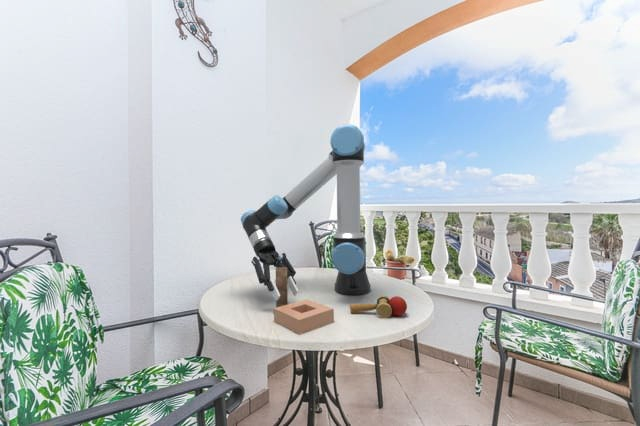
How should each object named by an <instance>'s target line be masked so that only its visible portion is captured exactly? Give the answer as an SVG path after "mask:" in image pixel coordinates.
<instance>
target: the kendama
mask: <svg viewBox="0 0 640 426" xmlns="http://www.w3.org/2000/svg"><path fill="white" fill-rule="evenodd" d="M407 304H408V303H407V302H406V300H405V299H404V298H403V297H401V296H397V295H396V296H395V295H394V296H392V297H391V298H389V297H388V296H387V295H380V296H378V297H377V299H376V303H349V309H350V314H357V313H364V312H370V311H375V310H376V314H377V316H379V318H383V319H388V318H389V317H391V315H393V316H395V317H400V316H403V315H404V314H406V312H407V308H408V305H407Z"/></svg>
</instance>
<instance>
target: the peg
mask: <svg viewBox="0 0 640 426" xmlns="http://www.w3.org/2000/svg"><path fill="white" fill-rule="evenodd" d="M275 285H276V287H277V289H278V291H279V294H280V298H279V299H278V300H277V301H276V300H275V308H277V307H280V306H284V305H288V304H289V302H288V301H289V299H288V293H289V292H288V283H287V267H275Z"/></svg>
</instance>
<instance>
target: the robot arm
mask: <svg viewBox="0 0 640 426" xmlns="http://www.w3.org/2000/svg"><path fill="white" fill-rule="evenodd" d="M329 141H330V142H329V143H330V146H331V149H332V151H330V152H329V153H328V157H327V158H326V159H325V160H323V162H322V163H320V164H319V165H318V166H317V167H315V169H313V171H311V173H309V174H308V175H307V176H306V177H305V178H304V179H303V180H301V181H300V182H299V183H298V184H296V186H294V187H293V188H292V189H291V190H290V191H289V192H287V194H286V195H285V196H283V197H281V196H280V195H273V196H272V197H271V198H269V199H268V200H267V201H266V202H265V203H263V205H262V206H260V207H259V208H258V209H257V210H253V209H252V210H248V211H246V212H244V213H243V214H242V216H241V217H240V221H241V222H240V223H241V224H242V228H243V230H244V232H245V234H246V235H247V237H248V241H249V243H250V245H251V246H252V249H253V252H254V253H255V256H252V257H253V258H252V260H251V264H252V265H253V267H254V269H255V273H256V276H257V279H258V283H259V284H261V285H262V284H263V285H264V286H266V288H267V289H268V292H269V293H270V292H271V294H272V297H273V298H274V300H275V302H276V301H277V300H278V299H279V298H280V294H279V291H278V289H277V287H276V282H275V281H274V280H273V279H271V271H270V266H273V267H274V268H277V267H287V286H288V287H289V289H290V291H291V294H292V295H293V297H296V296H297V295H298V293H299V292H300V291H299V289H298V287H297V285H296V284H297V282H296V280H295V278H294V277H295V275H296V274H297V272H296V270H295V268H294V267H293V265H292V264H291V261H289V259H288V258H287V255H286V253H285V252H282V254H280V253H278V251H277V250H276V246H275V245H274V242H273V240H272V238H271V237H270V234H269V233H268V230H267V227H269V226H271V224H272V223H273V222H275V221H276V220H285V219H286V220H287V219H289V218H290V217H291V216H292V215H293V213H294V212H295V211H296V210H298V209H299V207H300V206H302V205H303V204H304V203H305V202H307V200H309V199H310V198H311V197H312V196H313V195H314V194H315V193H317V192H318V191H319V190H320V189H321V188H322V187H323V186H325V185H326V184H327V183H328V182H329V181H330V180H332V179H333V178H334V177H335V176H336V208H337V209H336V225H337V226H336V233H335V234H334V235H333V236H332V237H333V238H332V239H333V240H332V241H333V244H332V246H333V250H332V252H331V262H332V265H333V267H334V268H335V270H337V272H338V273H337V277H336V280H335V283H334V291H335V292H336V293H338V294H341V295H345V296H346V295H347V296H361V295H366V294H368V293H370V292H371V289H372V288H371V286H372V285H371V283H370V280H369V276H368V274H367V253H366V252H367V250H366V249H367V248H366V247H367V241H366V237H365V235H364V234H363V233H362V232H361V167H362V165H364V162H365V157H364V156H365V149H366V147H365V142H364V141H365V139H364V134H363V131H362V130H360V128H358V127H357V126H356V125H354V124H349V123H346V124H341V125H338V127H336V128H335V130H333V131H332V133H331V136H330V140H329ZM261 263H262V265H261Z"/></svg>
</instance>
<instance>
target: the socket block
mask: <svg viewBox="0 0 640 426" xmlns="http://www.w3.org/2000/svg"><path fill="white" fill-rule="evenodd" d="M334 309H335V308H333V307H330V306H327V305H324V304H322V303H319V302H316V301H313V300H311V299H303V300H298V301H296V302H292V303H288V305H284V306H280V307H277V308H276V307H274V308H273V322H275V323H276V324H279V325H281V326H282V327H284V328H286V329H289V330H290V331H293V332H294V333H296V334H297V335H302V334H304V333H307V332H310V331H312V330H315V329H318V328H322V327H323V326H326V325H329V324H332V323H334V322H335V319H334V318H335V315H334V311H335V310H334Z"/></svg>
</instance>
